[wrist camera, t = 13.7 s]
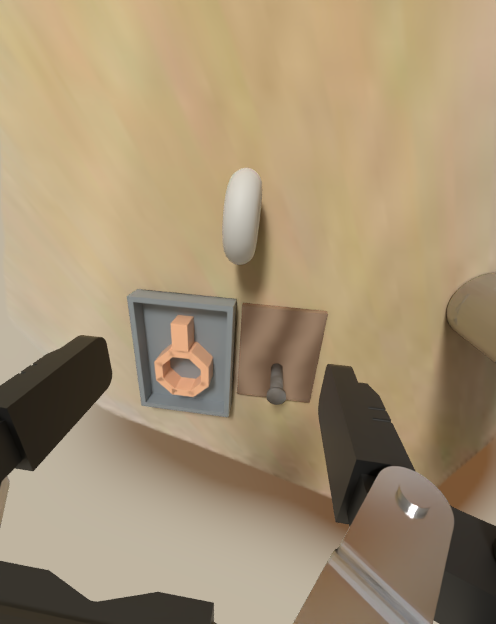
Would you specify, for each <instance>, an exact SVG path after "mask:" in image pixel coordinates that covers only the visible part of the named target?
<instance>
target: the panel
mask: <svg viewBox="0 0 496 624" xmlns="http://www.w3.org/2000/svg"><path fill="white" fill-rule="evenodd" d="M327 316H328V313H327V311H319V310H309V309H299V308H289V307H280V306H270V305H260V304H250V303H243V305H242V319H241V336H240V353H239V370H238V387H237V393H238V394H246V395H254V396H262V397H267V400H268V401H269V402H270V403H272V404H275V405H279V404H282V403H283V402H284V401H285V400H293V401H301V402H309V403H310V398H311V393H312V388H313V384H314V379H315V374H316V369H317V364H318V359H319V354H320V350H321V345H322V340H323V335H324V330H325V325H326V320H327Z"/></svg>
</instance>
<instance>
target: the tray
mask: <svg viewBox="0 0 496 624" xmlns="http://www.w3.org/2000/svg"><path fill="white" fill-rule="evenodd" d="M236 300H237V299H232V298H222V297H212V296H202V295H192V294H182V293H172V292H162V291H152V290H142V289H137V290H135V291H134V292H132V293H131V294H129V295H128V296H127V301H128V308H129V316H130V323H131V331H132V338H133V345H134V353H135V360H136V368H137V375H138V382H139V390H140V397H141V405H142V406H148V407H155V408H163V409H170V410H178V411H185V412H193V413H200V414H207V415H215V416H222V417H229V413H230V409H231V404H232V383H233V362H234V341H235V321H236ZM177 315H185V316H194V342H198V343H199V344H200V345H201V346H202V347H203V348H204V349H205V350H206V351H207V352H209V353H210V354H211V355H212V356H213V376H212V379H211V381H210V384H209V387H207V388H206V389H204V390H203V391H201V392H200V393H199V394H197V395H196V396H194V397H190V396H182V395H174V394H171V393H170V392H169V391H168V390H167V389H166V388H165V387H163V386H162V385H161V384H160V383H159V382H158V381H157V380H156V373H155V364H154V361H155V360H156V359H157V358H158V356H159V355H160V354H161V352H162V351H163V350H164V349H166V348H167V347H168V346H169V345H170V344H172V338H171V322H172V321H173V320H174V319H175V318H176V317H177ZM170 366H171V368H172V369H173V370H174V371H175V372H176V373H178V374H179V375H180V376H181V377H186V378H194V379H196V378H197V377H199V376H200V375H201V370H200V369H199V368H198V367H197V366H196V365H195V364H194V363H193V362H192V361H191V360H190V359H185V358H177V357H172V358H171V359H170Z"/></svg>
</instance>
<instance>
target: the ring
mask: <svg viewBox="0 0 496 624" xmlns="http://www.w3.org/2000/svg"><path fill="white" fill-rule="evenodd" d="M171 338H172V344H170V345H169V346H168V347H167V348H166V349H164V350H163V351H162V352H161V354H160V355H159V356H158V358H157V359H156V360H155V361H154V364H155V373H156V380H157V381H158V382H159V383H160V384H161V385H162V386H163V387H165V388H166V389H167V390H168V391H169V392H170V393H171V394H174V395H182V396H190V397H194V396H196V395H197V394H199V393H200V392H201V391H203V390H204V389H206V388H207V387H209V384H210V381H211V379H212V376H213V356H212V355H211V354H210V353H209V352H207V351H206V350H205V349H204V348H203V347H202V346H201V345H200V344H199V343H198V342H194V316H185V315H177V317H176V318H175V319H174V320H173V321H172V322H171ZM172 357H177V358H185V359H190V360H191V361H192V362H193V363H194V364H195V365H196V366H197V367H198V368H199V369H200V370H201V375H200V376H199V377H197V378H196V379H194V378H186V377H181V376H180V375H179V374H178V373H176V372H175V371H174V370H173V369H172V368H171V366H170V359H171V358H172Z"/></svg>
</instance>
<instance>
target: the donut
mask: <svg viewBox="0 0 496 624" xmlns="http://www.w3.org/2000/svg"><path fill="white" fill-rule="evenodd" d="M261 202H262V181H261V178H260V176H259V175H258V173H257V172H256V171H254V170H253V169H250V168H242V169H240V170H238V171H236V172H235V173H234V174H233V175H232V177H231V178H230V181H229V183H228V186H227V191H226V196H225V203H224V212H223V247H224V252H225V254H226V256H227V258H228V259H229V261H231V262H232V263H234V264H237V265H243V264H246V263H248V262H249V261H250V260H251V259H252V258H253V256H254V253H255V249H256V244H257V238H258V230H259V222H260V213H261Z"/></svg>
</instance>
